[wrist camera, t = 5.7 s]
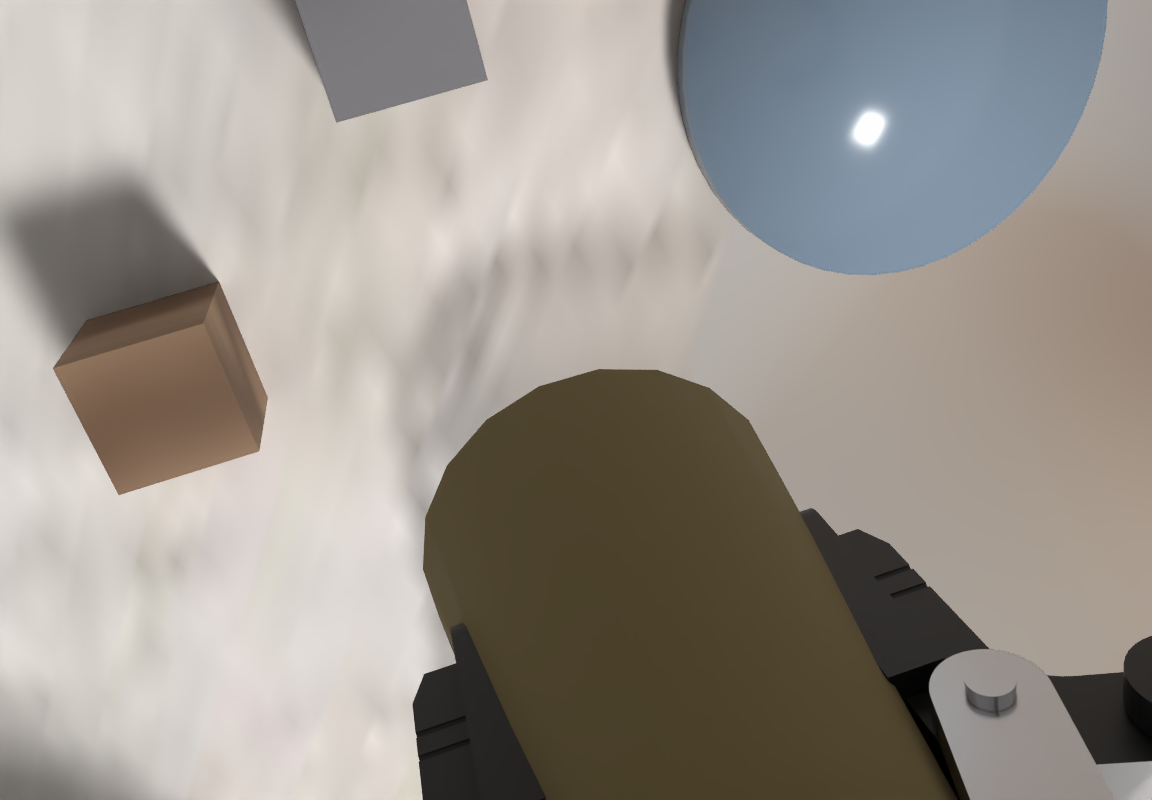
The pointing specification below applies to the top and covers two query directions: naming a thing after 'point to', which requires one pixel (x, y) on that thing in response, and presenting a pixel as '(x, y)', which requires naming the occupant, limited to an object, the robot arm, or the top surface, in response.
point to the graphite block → (390, 51)
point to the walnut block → (165, 388)
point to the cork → (660, 605)
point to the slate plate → (882, 117)
